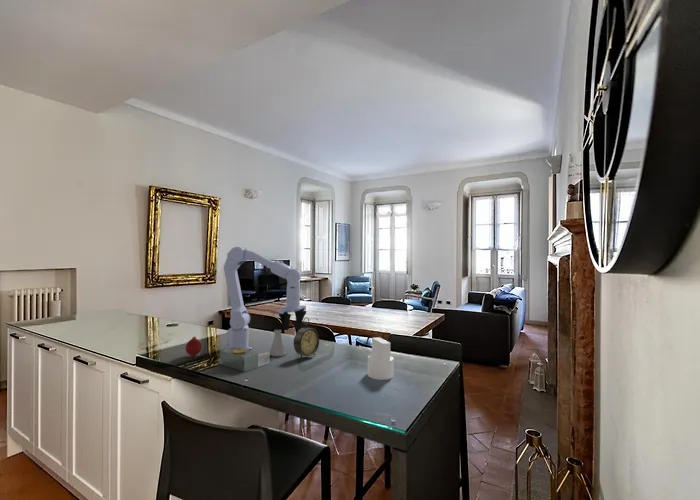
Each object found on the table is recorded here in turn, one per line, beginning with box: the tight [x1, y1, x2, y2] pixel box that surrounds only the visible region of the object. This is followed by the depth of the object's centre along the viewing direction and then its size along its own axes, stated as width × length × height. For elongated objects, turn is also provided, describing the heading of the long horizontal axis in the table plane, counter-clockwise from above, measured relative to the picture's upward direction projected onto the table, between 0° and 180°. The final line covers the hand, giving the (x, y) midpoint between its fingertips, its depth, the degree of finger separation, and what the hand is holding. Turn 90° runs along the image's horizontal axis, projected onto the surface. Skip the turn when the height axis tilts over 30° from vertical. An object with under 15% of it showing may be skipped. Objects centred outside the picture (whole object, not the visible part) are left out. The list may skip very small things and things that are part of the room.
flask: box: [268, 329, 287, 357], centre depth 140 cm, size 7×7×10 cm
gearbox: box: [219, 346, 271, 373], centre depth 127 cm, size 14×12×6 cm
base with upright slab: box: [367, 336, 395, 381], centre depth 118 cm, size 9×9×12 cm
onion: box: [185, 336, 203, 358], centre depth 134 cm, size 6×6×8 cm
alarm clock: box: [293, 316, 320, 361], centre depth 137 cm, size 11×5×16 cm, turn 143°
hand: (292, 328), depth 147 cm, fingers open, 7 cm apart
